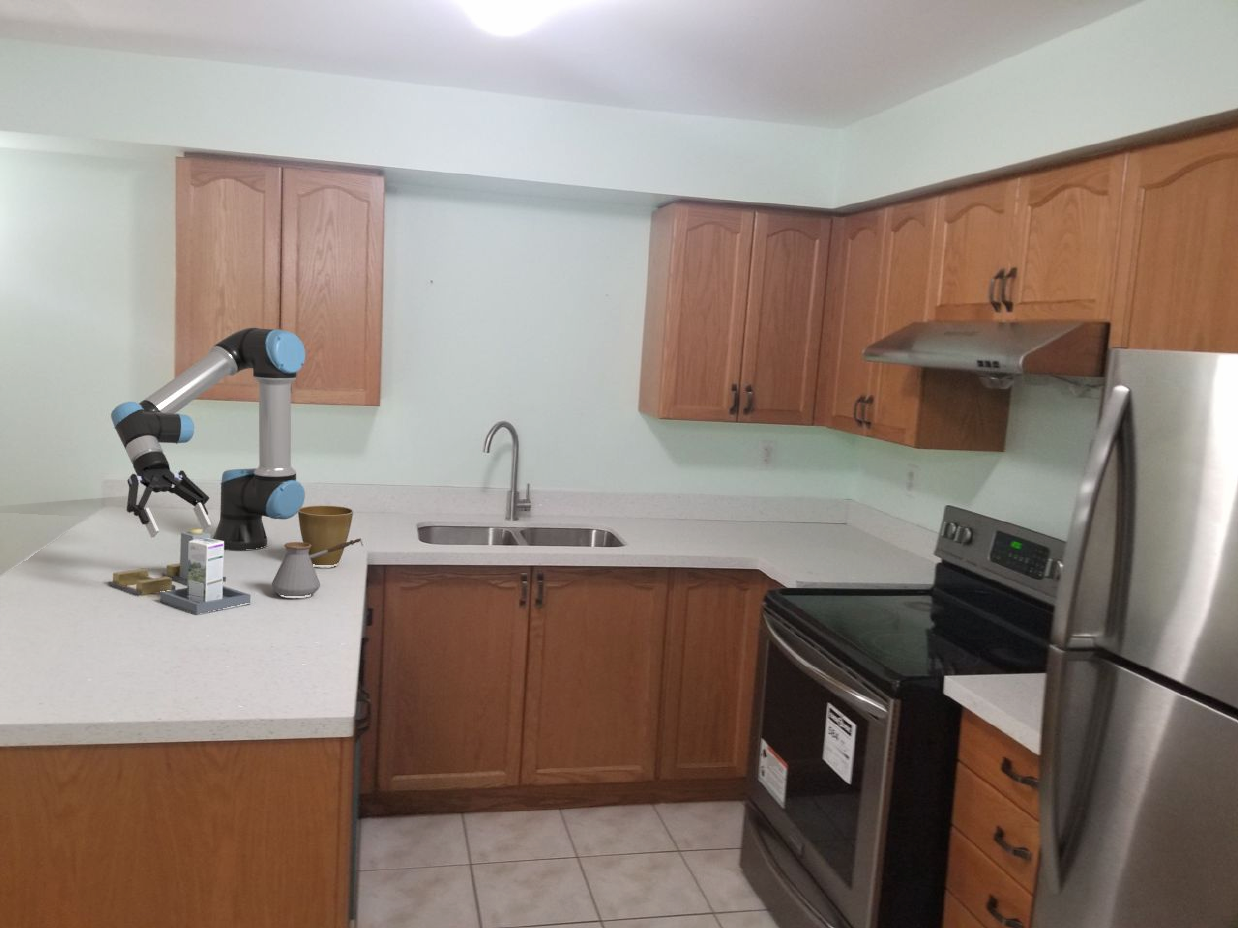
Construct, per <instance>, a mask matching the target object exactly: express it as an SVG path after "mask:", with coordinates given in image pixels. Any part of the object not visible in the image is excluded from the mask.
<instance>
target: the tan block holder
mask: <svg viewBox="0 0 1238 928" xmlns="http://www.w3.org/2000/svg"><path fill="white" fill-rule="evenodd" d="M133 585H136V588H134V587H131V586H133ZM108 586H109V587H112V588H115V589H117V590H121V591H122V590H123V592H125V591H126V593H128V592H129V593H128V594H131V593H132V594H131V595H134V596H136V595H137V596H138V597H140V596H139V595H141V596H146V595H145V594H147V595H151V594H150V593H153V594H157V593H156V592H159V593H161V592H160V591H167V590H176V586H177V585H175V584H173V581H172V578H170V577H163V576H159V577H150V576H149V570H147V569H144V568H138V569H132V570H131V569H130V570H125V571H117V572H113V573H112V580H110V581H109V582H108ZM137 596H136V597H137Z"/></svg>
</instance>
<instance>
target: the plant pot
mask: <svg viewBox="0 0 1238 928" xmlns="http://www.w3.org/2000/svg"><path fill="white" fill-rule="evenodd" d="M353 514H354V510H353V509H352V508H350V507H349V508H348V507H345V506H338V505H310V506H304V507H303V506H302V507H301V508H300V509H298V512H297V515H298V523H299V528H300V529H299V530H300V536H301V540H302V542H303V543H309V544H311V547H310V549H309V552H308V554H309V555H312V554H315V553H318V552H321V551H325V550H327V549H329V548H332V547H334V546H337V545H339V544H342V543H346V542H348V538H349V534H350V531H351V526H352V522H353V521H352V520H353V516H354V515H353ZM344 551H345V548H342V549H339V550H335V551H332V552H329V553H325V554H323V555H320V556H317V557H315V558H312V559H311V561H312V564H315V565H334V564H337V563H338V564H339V563H340V560H341V558H342V555H343V553H344Z"/></svg>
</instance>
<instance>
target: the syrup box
mask: <svg viewBox="0 0 1238 928" xmlns="http://www.w3.org/2000/svg"><path fill="white" fill-rule="evenodd" d="M224 552H225V549H224V541H220V540H215V539H213V538H211V539H209V538H199V539H195V540H192V541H189V544H188V583H187V585H186V586H187V587H186V588H187V599H188V600H191V601H194V602H197V603H201V602H207V601H212V600H218V599H222V595H223V586H224V584H223V583H224V582H223V577H224V557H225V556H224V555H225V553H224Z"/></svg>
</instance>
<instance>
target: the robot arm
mask: <svg viewBox="0 0 1238 928" xmlns="http://www.w3.org/2000/svg"><path fill="white" fill-rule="evenodd" d="M305 361H306V349H305V347H304V343H303V342H302V340H301V339H300V338H299V337H298V335H296V334H295V333H293V332H291V331H287V330H283V329H276V328H275V329H272V328H271V329H270V328H261V327H248V328H244V329H240V330H238V331H236V332H234V333H232V334H230V335H228V336H227V337H226V338H223V339H222V340H221V341H219V342H218V343H216V344H214V345H213V346H212V347H210V349H209V354H206V356H204V357H203V358H201V359H200V360H199V361H197V362H196V363H195V364H193V365H192V366H191V365H190V367H188V368H187V369H186V370H184V371H183V372H182V373H180V374H179V375H177V376H176V377H175V378H173V379H172V380H170V381H169V382H167V383H166V384H165V385H163V386H162V387H160V388H159V389H158V390H155V392H153V393H152V394H150V395H149V396H148V397H146V398H145V399H144V400H142V401H140V402H136V401H127V402H123V403H121V404H119V405H117V406H115V408H114V409H113V410H112V411H111V413H110V418H111V421H112V425H113V426H114V427H113V428H114V429H115V431H116V433H117V435H118V437H119V439H120V441H121V444H122V445H123V448H124V449H125V452H126V453H127V456H128V458H129V460H130V462H131V464H132V466H133V467H132V468H133V469H134V471H135V473H136V474H135V473H132V474H131V475H130V476H129V477H128V479H127V485H128V495H127V502H126V503H127V504H126V512H127V513H129V514H130V513H133V515H134V516H135V517H138V518H139V521H140V523H141V524H142V525H144V526H145V527H146V530H147V532H148V535H149V537H150V538H151V539H152V538H155V537H156V535H157V534H158V533H159V532H160V530H159V528H158V526H157V523H156V520H155V519H154V517H153V514H152V512H151V510H150V508H149V507H146V505H147V503H148V501H149V500H150V499H149V498H150V497H151V494H152V492H154V493H156V494H157V493H161V492H163V493H167V492H168V493H169V494H170V493H171V494H175V495H176V496H177V497H179V498H181V499H182V500H184V501H185V502H187V503H189V505H192V506H193V507H194V508H193V509H192V510H193V511H194V514H195V516H196V518H197V521H198V522H199V524H200V527H201V529H202V532H205V531H208V530H209V528H210V527H211V525H212V523H211V520H210V519H209V517H208V515H209V511H208V510H207V508H206V503H208V502H209V500H210V497H209V495H207V494H206V492H204V491H203V490H202V489H201V487H199V486H198V485H197V484H195V483H194V482H193V481H192V480H191V479H190V478H189V476H188V475H187V474H186V472H185V471H184V470H179V471H178V472H176V473H174V472H173V471H172V470H171V467H170V463H169V461H168V459H167V457H166V454H164V450H163V448H162V446H161V443H164V444H176V445H177V444H186V443H188V442H190V441H191V440H192V438H193V436H194V434H195V424H194V421H193V419H192V418H191V417H190V416H189V415H187V414H181V413H178V412H179V411H180V410H182V409H183V408H185V407H186V406H187V405H189V404H190V403H191V402H193V401H194V400H196V399H197V398H198V397H200V396H201V395H203V394H204V393H205V392H206V391H208V390H209V389H211V388H212V387H213V386H215V385H216V384H218V383H219V382H221V380H223V379H224V378H226V377H227V376H235V375H236V374H237V373H239V372H241V371H243V370H247V369H253V373H252V376H253V378H254V379H255V380H256V382H258V405H259V406H258V429H259V430H258V441H259V442H258V445H259V446H258V448H259V449H258V450H259V451H258V454H259V455H258V460H259V461H258V462H259V463H258V464H259V465H258V467H257V468H235V469H227V470H225V471H223V472H222V476H221V482H220V511H219V512H220V515H219V521H218V524H217V527H216V530H215V532H214V535H213V537H212V539H215V540H220V541H224V550H226V549H229V550H228V551H247V550H246V549H255V550H257V549H256V548H261V547H264V546H266V545H267V546H268V537H267V532H266V530H265V526H264V522H263V517H267V518H269V519H274V520H288V519H291V518H293V517H294V516H296V515H298V509H300V508H303V505H304V503H305V502H304V501H305V498H306V497H305V496H306V492H305V488H304V487H303V485H302V483H300V482H299V481H297V471H296V470H295V469H294V468H293V467H292V466H291V465H292V455H291V454H292V452H291V451H292V450H291V449H292V448H291V447H292V446H291V445H292V431H291V430H292V412H291V411H292V394H291V393H292V384H293V382H294V381H295V380H296V379H297V372H299V371H300V370H301V369H302V368H303V365H304V364H305ZM139 484H141V485H143V486H144V487H145V488H144V491H143V493H142V495H141V497H140V499H139V501H138V494H139V493H138V492H139V487H140V485H139ZM137 501H138V503H137ZM267 546H266V547H267ZM264 548H265V547H264ZM261 549H262V548H261Z"/></svg>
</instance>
